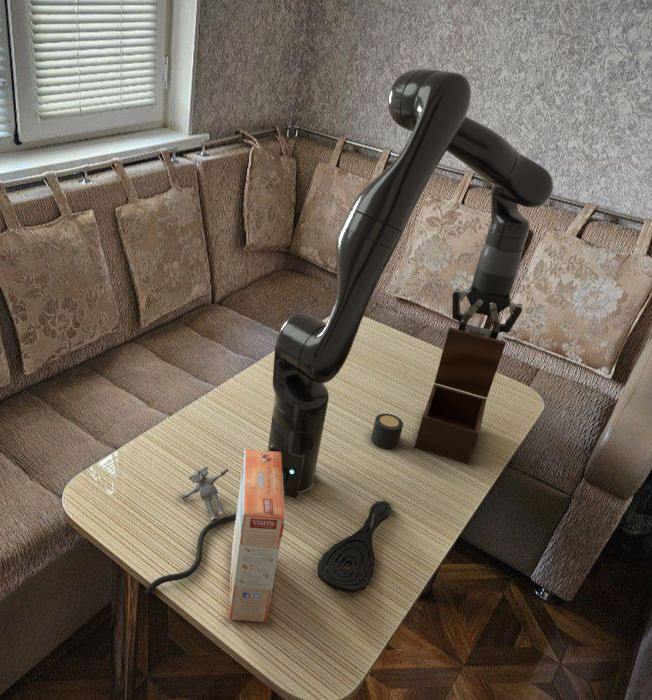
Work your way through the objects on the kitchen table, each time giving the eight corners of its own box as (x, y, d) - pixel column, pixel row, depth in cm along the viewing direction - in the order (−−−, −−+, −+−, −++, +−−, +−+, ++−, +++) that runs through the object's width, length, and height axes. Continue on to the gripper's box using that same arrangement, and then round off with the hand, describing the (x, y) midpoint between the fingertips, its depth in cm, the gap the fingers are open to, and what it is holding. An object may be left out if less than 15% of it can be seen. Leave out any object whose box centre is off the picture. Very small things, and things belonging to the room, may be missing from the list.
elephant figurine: (185, 529, 112) (168, 483, 117) (202, 534, 117) (185, 489, 122) (235, 499, 110) (215, 453, 115) (250, 506, 115) (230, 461, 120)
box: (469, 464, 134) (479, 433, 130) (414, 447, 137) (422, 416, 133) (477, 428, 145) (486, 398, 141) (426, 413, 148) (434, 383, 144)
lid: (505, 343, 131) (509, 328, 135) (448, 329, 134) (453, 314, 138) (487, 398, 141) (490, 382, 144) (434, 383, 144) (439, 367, 148)
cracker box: (269, 624, 97) (286, 517, 87) (227, 621, 97) (240, 514, 86) (268, 551, 109) (283, 449, 99) (231, 548, 109) (242, 446, 98)
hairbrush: (410, 502, 118) (358, 592, 98) (406, 518, 120) (354, 610, 100) (367, 484, 121) (308, 567, 102) (363, 500, 123) (304, 584, 103)
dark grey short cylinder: (395, 452, 135) (400, 432, 132) (368, 444, 137) (372, 424, 134) (400, 438, 139) (405, 418, 137) (374, 429, 141) (379, 410, 139)
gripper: (457, 264, 130) (437, 340, 139) (534, 282, 126) (508, 360, 134) (462, 253, 136) (442, 326, 145) (536, 269, 132) (511, 344, 140)
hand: (474, 342), depth 139 cm, fingers closed on lid, 5 cm apart
